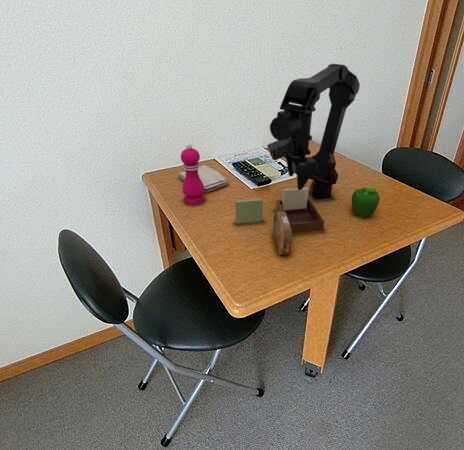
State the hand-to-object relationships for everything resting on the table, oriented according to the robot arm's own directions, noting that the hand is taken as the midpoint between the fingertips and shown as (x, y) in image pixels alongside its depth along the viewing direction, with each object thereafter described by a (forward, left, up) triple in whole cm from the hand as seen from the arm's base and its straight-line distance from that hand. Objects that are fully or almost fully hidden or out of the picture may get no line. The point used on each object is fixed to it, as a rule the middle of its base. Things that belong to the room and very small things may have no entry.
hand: (295, 182), depth 100 cm
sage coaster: (+14, 0, -12) cm, 19 cm away
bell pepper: (-23, +1, -13) cm, 26 cm away
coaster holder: (-2, +2, -12) cm, 13 cm away
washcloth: (+26, -31, -13) cm, 42 cm away
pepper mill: (+30, -17, -13) cm, 36 cm away
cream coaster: (-2, -3, -12) cm, 12 cm away
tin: (+7, +13, -13) cm, 19 cm away
